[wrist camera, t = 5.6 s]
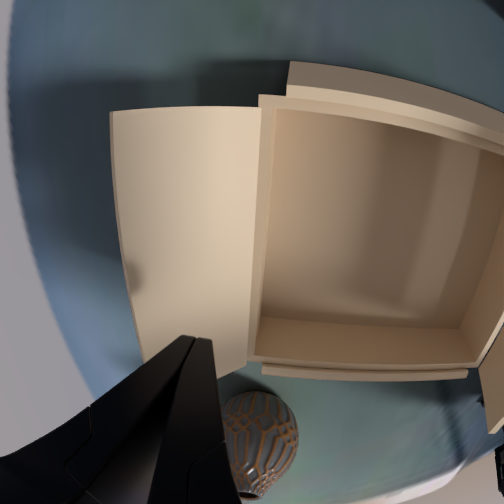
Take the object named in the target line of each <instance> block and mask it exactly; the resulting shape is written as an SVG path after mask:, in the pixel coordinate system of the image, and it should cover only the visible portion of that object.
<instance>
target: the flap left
mask: <svg viewBox="0 0 504 504" xmlns="http://www.w3.org/2000/svg"><path fill="white" fill-rule="evenodd" d="M261 110H262V108H260V107H236V106H186V107H162V108H146V109H133V110H122V111H113V112H110V147H111V166H112V180H113V192H114V202H115V212H116V221H117V229H118V236H119V244H120V251H121V257H122V264H123V270H124V276H125V281H126V287H127V292H128V297H129V303H130V307H131V312H132V317H133V322H134V326H135V331H136V335H137V339H138V343H139V347H140V351H141V355H142V359H143V363H146V362H147V361H148V360H149V359H151V358H152V357H153V356H155V355H156V354H157V353H158V352H160V351H161V350H162V349H164V348H165V347H166V346H167V345H169V344H170V343H171V342H172V341H174V340H175V339H176V338H178V337H179V336H180V335H190V336H195V337H196V338H198V337H202V338H209V339H211V340H212V342H213V351H214V359H215V367H216V375H217V379H218V378H220V377H222V376H225V375H227V374H229V373H231V372H233V371H235V370H237V369H240V368H242V367H244V366H246V364H247V347H248V330H249V314H250V297H251V280H252V264H253V247H254V230H255V213H256V196H257V179H258V162H259V145H260V128H261Z"/></svg>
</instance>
